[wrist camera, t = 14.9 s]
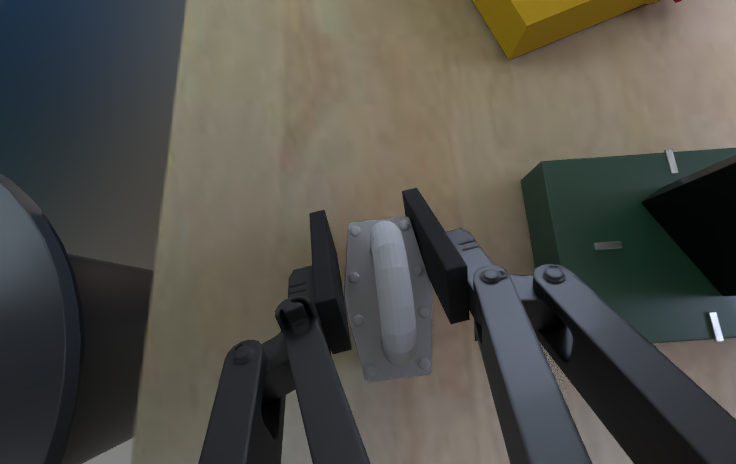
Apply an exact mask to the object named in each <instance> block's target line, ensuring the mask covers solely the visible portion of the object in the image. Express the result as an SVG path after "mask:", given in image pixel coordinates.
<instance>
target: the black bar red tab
mask: <svg viewBox="0 0 736 464" xmlns="http://www.w3.org/2000/svg"><path fill="white" fill-rule="evenodd" d="M641 203H642V205H643V206H644V207H645V208H646V209H647V210H648V211H649V213H650V214H651V215H652V216H653V217H654V218H655V219H656V221H657V222H658V223H659V224H660V225H661V226H662V227H663V228H664V230H665V231H666V232H667V233H668V234H669V235H670V236H671V238H672V239H673V240H674V241H675V242H676V243H677V244H678V246H679V247H680V248H681V249H682V250H683V251H684V252H685V254H686V255H687V256H688V257H689V258H690V259H691V260H692V262H693V263H694V264H695V265H696V266H697V267H698V268H699V269H700V271H701V272H702V273H703V274H704V275H705V276H706V277H707V279H708V280H709V281H710V282H711V283H712V284H713V285H714V287H715V288H716V289H717V290H718V291H719V292H720V293H721V295H722V296H736V155H734V156H731V157H729V158H727V159H725V160H722V161H720V162H718V163H715V164H713V165H711V166H709V167H706V168H704V169H702V170H700V171H697V172H695V173H693V174H691V175H688V176H686V177H684V178H682V179H679V180H677V181H675V182H673V183H670V184H668V185H666V186H664V187H662V188H660V189H659V190H657V191H656V192H655V193H653V194H652V195H650V196H649V197H648V198H646V199H645V200H643V201H642V202H641Z"/></svg>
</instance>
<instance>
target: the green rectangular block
mask: <svg viewBox="0 0 736 464" xmlns="http://www.w3.org/2000/svg"><path fill="white" fill-rule="evenodd" d="M734 155H736V148H727V149H712V150H698V151H683V152H673V150H672V149H666V150H664V153H654V154H640V155H626V156H611V157H597V158H582V159H568V160H553V161H541V162H540V163H539V164H538V165H537V166H536V167H535V168H534V169H533V170H531V171H530V172H529V173H528V174H527V175H526V176H525V177H524V178H523V179H522V180H521V184H522V190H523V196H524V202H525V208H526V214H527V220H528V226H529V232H530V238H531V244H532V250H533V256H534V262H535V268H537V267H539V266H541V265H546V264H556V265H560V266H563V267H566V268H567V269H569V270H570V271H572V272H573V273H574V274H575V275H576V276H577V277H578V278H579V279H580V280H582V281H583V282H584V283H585V284H586V285H587V286H588V287H589V288H590V289H592V290H593V291H594V292H595V293H596V294H597V295H598V296H599V297H600V298H602V299H603V300H604V301H605V302H606V303H607V304H608V305H609V306H610V307H612V308H613V309H614V310H615V311H616V312H617V313H618V314H619V315H620V316H622V317H623V318H624V319H625V320H626V321H627V322H628V323H629V324H630V325H631V326H633V327H634V328H635V329H636V330H637V331H638V332H639V333H640V334H641V335H643V336H644V337H645V338H646V339H647V340H648V341H649V342H650V343H663V342H678V341H693V340H708V339H714V341H716V342H718V341H724V339H723V338H736V296H722V295H721V293H720V292H719V291H718V290H717V289H716V288H715V287H714V285H713V284H712V283H711V282H710V281H709V280H708V279H707V277H706V276H705V275H704V274H703V273H702V272H701V271H700V269H699V268H698V267H697V266H696V265H695V264H694V263H693V262H692V260H691V259H690V258H689V257H688V256H687V255H686V254H685V252H684V251H683V250H682V249H681V248H680V247H679V246H678V244H677V243H676V242H675V241H674V240H673V239H672V238H671V236H670V235H669V234H668V233H667V232H666V231H665V230H664V228H663V227H662V226H661V225H660V224H659V223H658V222H657V221H656V219H655V218H654V217H653V216H652V215H651V214H650V213H649V211H648V210H647V209H646V208H645V207H644V206H643V205H642V203H641V202H642V201H643V200H645V199H646V198H648V197H649V196H650V195H652V194H653V193H655V192H656V191H657V190H659V189H660V188H662V187H664V186H666V185H668V184H670V183H673V182H675V181H677V180H679V179H682V178H684V177H686V176H688V175H691V174H693V173H695V172H697V171H700V170H702V169H704V168H706V167H709V166H711V165H713V164H715V163H718V162H720V161H722V160H725V159H727V158H729V157H731V156H734Z"/></svg>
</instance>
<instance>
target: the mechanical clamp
mask: <svg viewBox="0 0 736 464" xmlns="http://www.w3.org/2000/svg"><path fill="white" fill-rule="evenodd" d="M472 1H473V2H474V4H475V6H476V7H477V9H478V10H479V12H480V14H481V15H482V17H483V19H484V20H485V22H486V23H487V25H488V27H489V28H490V30H491V32H492V33H493V35H494V36H495V38H496V40H497V41H498V43H499V45H500V46H501V48H502V49H503V51H504V53H505V54H506V56H507V58H508V59H509V60H510V59H513V58H515V57H518V56H520V55H523V54H525V53H527V52H530V51H532V50H535V49H537V48H540V47H542V46H544V45H547V44H549V43H552V42H554V41H556V40H559V39H561V38H564V37H566V36H569V35H571V34H573V33H576V32H578V31H581V30H583V29H586V28H588V27H590V26H593V25H595V24H598V23H600V22H602V21H605V20H607V19H610V18H612V17H615V16H617V15H619V14H622V13H624V12H627V11H629V10H632V9H634V8H636V7H639V6H641V5H644V4H652V3H655V2H657V1H660V0H472ZM673 1H674V2H675V3H676V2H679V1H681V0H673Z"/></svg>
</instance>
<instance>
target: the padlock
mask: <svg viewBox="0 0 736 464" xmlns="http://www.w3.org/2000/svg"><path fill="white" fill-rule="evenodd" d="M344 303H345V306H346V310H347V314H348V318H349V321H350V325H351V329H352V333H353V336H354V340H355V344H356V347H357V351H358V355H359V359H360V362H361V366H362V370H363V374H364V377H365V380H366V381H368V382H373V381H381V380H389V379H397V378H405V377H413V376H422V375H429V374H430V373H431V372H432V287H431V284H430V281H429V278H428V275H427V272H426V268H425V265H424V262H423V259H422V256H421V253H420V250H419V247H418V244H417V240H416V237H415V234H414V231H413V228H412V225H411V222H410V219H409V218H408V217H406V216H404V217H396V218H387V219H378V220H370V221H361V222H353V223H350V224H349V225H348V240H347V257H346V274H345V290H344Z"/></svg>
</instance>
